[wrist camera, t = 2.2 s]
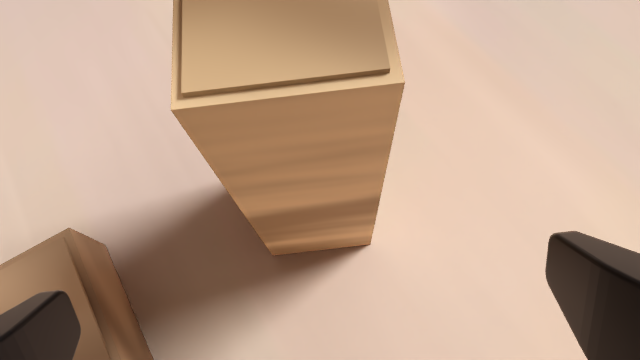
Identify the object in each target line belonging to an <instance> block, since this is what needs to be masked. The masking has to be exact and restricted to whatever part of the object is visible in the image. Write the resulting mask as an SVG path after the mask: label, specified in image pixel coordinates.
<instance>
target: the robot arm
mask: <svg viewBox="0 0 640 360" xmlns="http://www.w3.org/2000/svg"><path fill="white" fill-rule="evenodd" d="M546 279H547V282H548V285H549V287H550V289H551V291H552V293H553V295H554V296H555V298H556V300H557V302H558V304H559V306H560V308H561V310H562V312H563V314H564V316H565V318H566V320H567V322H568V324H569V326H570V328H571V329H572V331H573V333H574V335H575V337H576V339H577V341H578V343H579V345H580V347H581V349H582V350H583V352H584V354H585V356H586V357H587V359H588V360H640V253H637V252H634V251H631V250H628V249H625V248H623V247H620V246H617V245H614V244H611V243H608V242H606V241H603V240H600V239H597V238H594V237H591V236H588V235H586V234H583V233H580V232H577V231H568V232H559V233H554V234H553V235H551V236H550V239H549V242H548V252H547V261H546ZM80 335H81V326H80V322H79V320H78V317H77V315H76V313H75V310H74V308H73V305H72V303H71V300H70V298H69V296H68V294H67V293H66V292H65V291H63V290H54V291H45V292H40V293H38V294H36V295H34V296H32V297H30V298H29V299H27V300H25V301H23V302H22V303H20V304H18V305H16V306H15V307H13V308H11V309H9V310H8V311H6V312H4V313H2V314H1V315H0V360H73V358H74V355H75V352H76V349H77V346H78V343H79V340H80Z"/></svg>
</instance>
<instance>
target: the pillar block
mask: <svg viewBox="0 0 640 360" xmlns="http://www.w3.org/2000/svg"><path fill="white" fill-rule="evenodd" d="M404 84H405V81H404V76H403V71H402V66H401V61H400V56H399V52H398V47H397V42H396V37H395V32H394V27H393V22H392V17H391V13H390V8H389V3H388V0H173V36H172V80H171V111H172V112H173V114H174V115H175V117H176V118H177V120H178V121H179V122H180V124H181V125H182V127H183V128H184V130H185V131H186V132H187V134H188V135H189V137H190V138H191V140H192V141H193V142H194V144H195V145H196V147H197V148H198V150H199V151H200V152H201V154H202V155H203V157H204V158H205V160H206V161H207V163H208V164H209V165H210V167H211V168H212V170H213V171H214V173H215V174H216V175H217V177H218V178H219V180H220V181H221V183H222V184H223V185H224V187H225V188H226V190H227V191H228V193H229V194H230V195H231V197H232V198H233V200H234V201H235V203H236V204H237V205H238V207H239V208H240V210H241V211H242V213H243V214H244V216H245V217H246V218H247V220H248V221H249V223H250V224H251V226H252V227H253V228H254V230H255V231H256V233H257V234H258V236H259V237H260V238H261V240H262V241H263V243H264V244H265V246H266V247H267V248H268V250H269V251H270V253H271V254H272V256H273V255H282V254H291V253H299V252H308V251H317V250H326V249H334V248H343V247H352V246H361V245H369V244H370V243H371V238H372V234H373V229H374V224H375V220H376V215H377V210H378V206H379V201H380V196H381V192H382V187H383V182H384V178H385V173H386V168H387V164H388V159H389V154H390V149H391V145H392V140H393V135H394V131H395V126H396V121H397V117H398V112H399V107H400V103H401V98H402V93H403V89H404Z"/></svg>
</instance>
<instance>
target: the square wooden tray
mask: <svg viewBox="0 0 640 360" xmlns="http://www.w3.org/2000/svg"><path fill="white" fill-rule="evenodd" d="M54 290H63V291H65V292H66V293H67V294H68V296H69V298H70V300H71V303H72V305H73V308H74V310H75V313H76V315H77V317H78V320H79V322H80V326H81V335H80V340H79V343H78V346H77V349H76V352H75V355H74V358H73V360H153V358H152V355H151V353H150V350H149V348H148V346H147V343H146V341H145V339H144V336H143V334H142V331H141V329H140V327H139V324H138V322H137V320H136V317H135V315H134V312H133V310H132V308H131V305H130V303H129V300H128V298H127V296H126V293H125V291H124V289H123V286H122V284H121V281H120V279H119V277H118V274H117V272H116V270H115V267H114V265H113V262H112V260H111V258H110V255H109V253H108V250H107V248H106V246H105V245H104V244H102V243H100V242H98V241H96V240H94V239H92V238H90V237H88V236H85V235H83V234H81V233H79V232H77V231H75V230H73V229H71V228H68V229H66V230H64V231H62V232H60V233H58V234H56V235H55V236H53V237H51V238H49V239H47V240H45V241H44V242H42V243H40V244H38V245H36V246H34V247H33V248H31V249H29V250H27V251H25V252H23V253H21V254H20V255H18V256H16V257H14V258H12V259H10V260H9V261H7V262H5V263H3V264H1V265H0V315H1V314H2V313H4V312H6V311H8V310H9V309H11V308H13V307H15V306H16V305H18V304H20V303H22V302H23V301H25V300H27V299H29V298H30V297H32V296H34V295H36V294H38V293H40V292H45V291H54Z"/></svg>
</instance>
